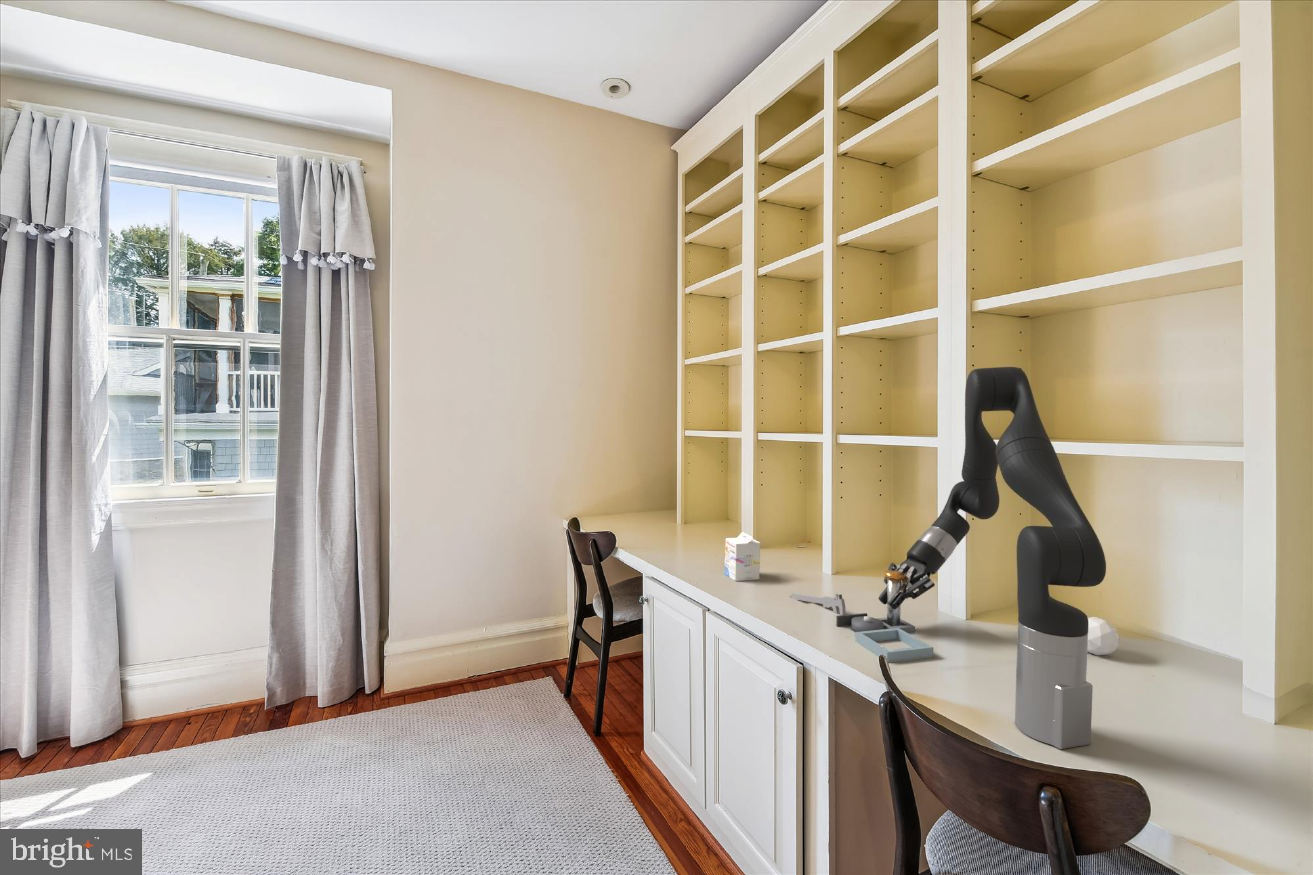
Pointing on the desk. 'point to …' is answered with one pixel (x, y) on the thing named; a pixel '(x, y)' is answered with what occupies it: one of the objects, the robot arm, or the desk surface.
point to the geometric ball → (1101, 637)
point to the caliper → (824, 601)
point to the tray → (916, 652)
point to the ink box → (742, 558)
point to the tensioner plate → (870, 623)
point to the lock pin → (892, 588)
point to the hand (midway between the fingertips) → (886, 604)
